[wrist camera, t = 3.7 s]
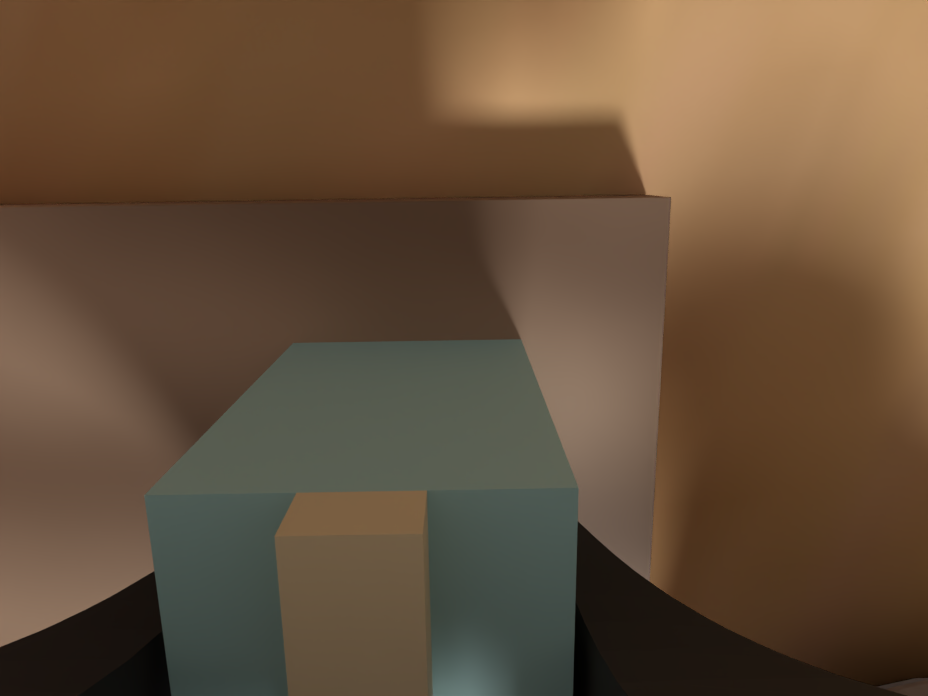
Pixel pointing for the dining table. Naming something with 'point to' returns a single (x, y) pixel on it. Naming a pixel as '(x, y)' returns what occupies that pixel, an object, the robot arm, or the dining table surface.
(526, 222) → the board
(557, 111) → the dining table surface
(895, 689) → the coffee pot
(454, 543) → the teal and beige block
